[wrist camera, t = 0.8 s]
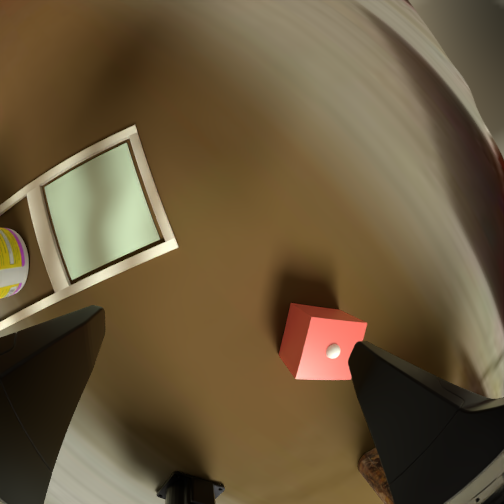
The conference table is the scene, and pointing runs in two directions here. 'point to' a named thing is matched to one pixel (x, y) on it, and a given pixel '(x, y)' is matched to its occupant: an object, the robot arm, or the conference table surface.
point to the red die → (319, 342)
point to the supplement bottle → (12, 262)
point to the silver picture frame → (93, 217)
